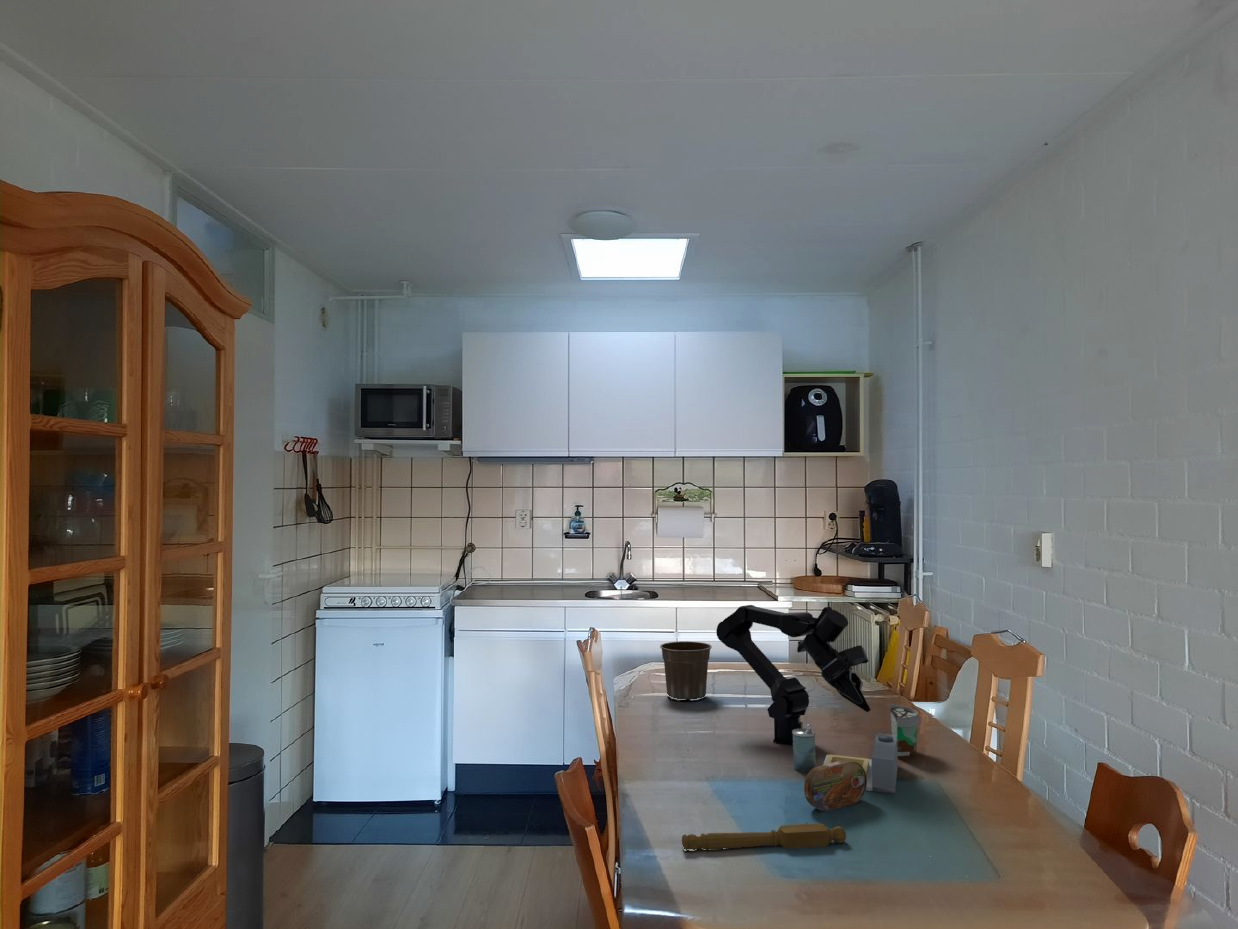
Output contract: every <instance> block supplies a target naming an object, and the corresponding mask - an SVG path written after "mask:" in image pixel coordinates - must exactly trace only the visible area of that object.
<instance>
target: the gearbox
mask: <svg viewBox="0 0 1238 929" xmlns="http://www.w3.org/2000/svg"><path fill="white" fill-rule="evenodd" d="M873 744H874V745H873V747H872V748H873V749H872V755H871V758H865V757H853V756H846V755H838V754H837V755H836V754H826V756H825V759H824V761H823V764H822V765H826V764H830V763H833V762H837V761H841V760H849V761H852V762H857V763H859V764H860V765H861V766H862V767H863V768H864V770H865V773H866V777H867V786H866V790H865V791H869V792H875V793H877V792H878V793H882V794H883V793H885V794H892V795H895V794H896V788H897V787H896V786H897V777H898V776H897V775H898V766H899V764H898V760H899V759H897V735H891V733H890V734H889V733H888V734H887V733H880V732H879V733H878V732H877V733H876V735H875V739H874V743H873Z"/></svg>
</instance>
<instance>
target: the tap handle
mask: <svg viewBox="0 0 1238 929" xmlns="http://www.w3.org/2000/svg"><path fill="white" fill-rule="evenodd" d="M846 839H847V833H846V830H845V829H844V828H843V827H842V826H839V825H837V826H834V827H833V828H832V829H831V828H829V827H827V826H826V825H825V824H823V823H821V822H820V823H819V822H818V823H805V824H803V823H802V824H790V825H789V824H787V825H786V824H784V825H780V827H779V828H778V830H777V831H776V830H774V829H772V830H771V831H765V832H764V831H761V832H710V833H706V834H705V833H701V834H700V836H697V835H696V834H695V833H693V834H692V833H691V834H682V836H681V846H682V845H683V847H684V849H686V850H687V849H693V850H695V849H698V848H703V849H723V848H726V849H725V850H728V849H727V848H734V849H743V848H742V847H745V848H755V847H762V846H773V847H778V846H779V847H781V848H783V849H784V850H785V849H787V850H788V849H802V848H803V849H806V848H821V847H822V848H824V847H826V848H827V847H829V845H830V843H832V842H833V841H834V842H835V843H837V844H843V843H844V842H845V841H846ZM754 846H755V847H754ZM683 847H682V848H683ZM698 850H699V849H698ZM723 850H724V849H723Z"/></svg>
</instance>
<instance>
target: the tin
mask: <svg viewBox="0 0 1238 929" xmlns="http://www.w3.org/2000/svg"><path fill="white" fill-rule="evenodd" d="M866 786H867V777H866V773H865V770H864V768H863V767H862V766H861V765H860V764H859V763H857V762H852V761H849V760H841V761H837V762H833V763H830V764H826V765H823V764H822V765H818V766H816V767H815V768H813V769H812V770H811V771H810V772H807V775H806V776H805V780H804V786H803V787H804V796H805V799H806V801H807V803H808V804H809V805H810V806H812V807H813V808H815V809H818V810H819V811H820V812H823V813H824V812H826V811H827V812H830V811H829V810H831V811H834V810H837V809H840V808H844V807H848V806H851V805H855V804H857V803H859V801H860V800H862V799H863V797H864V795H865V793H866V791H867V790H866ZM833 809H834V810H833Z"/></svg>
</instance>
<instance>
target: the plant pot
mask: <svg viewBox="0 0 1238 929" xmlns="http://www.w3.org/2000/svg"><path fill="white" fill-rule="evenodd" d="M659 647H660V649H661V653H662V654H661V656H662V660H663V665H664V678H665V684H666V685H665V686H666V695H667V694H668V695H669V696H671V697H673V698H677V699H697V698H702V697H704V696H705V695H706V696H707V685H708V684H707V682H708V667H709V666H708V665H709V660H710V655H711V649H712V645H711V644H710V643H706V642H700V641H688V640H687V641H685V640H684V641H681V640H680V641H670V642H664V643H662V644H660V645H659Z"/></svg>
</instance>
